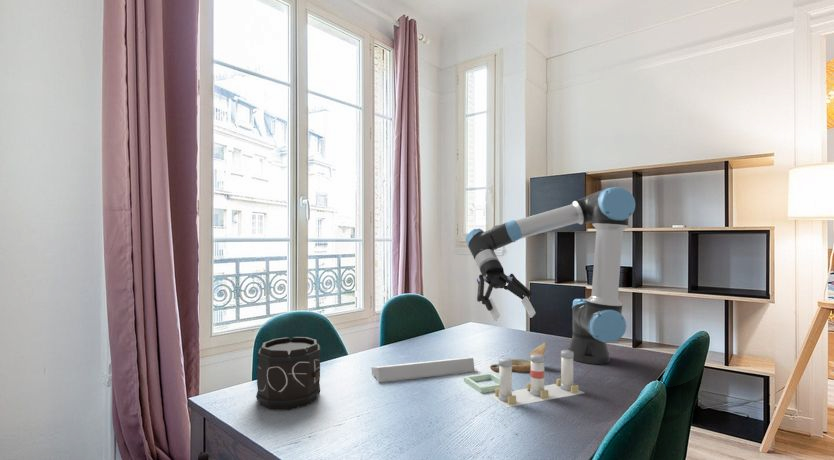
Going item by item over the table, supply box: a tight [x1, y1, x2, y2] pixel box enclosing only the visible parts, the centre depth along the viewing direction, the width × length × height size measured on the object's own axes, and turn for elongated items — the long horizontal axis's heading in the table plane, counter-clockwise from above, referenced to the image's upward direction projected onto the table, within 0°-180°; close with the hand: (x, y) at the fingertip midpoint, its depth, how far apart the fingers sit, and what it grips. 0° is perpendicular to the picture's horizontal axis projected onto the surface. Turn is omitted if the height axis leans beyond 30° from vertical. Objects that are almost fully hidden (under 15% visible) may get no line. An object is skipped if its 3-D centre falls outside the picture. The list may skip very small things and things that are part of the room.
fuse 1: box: [498, 357, 513, 402], centre depth 112 cm, size 4×4×11 cm
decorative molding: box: [370, 357, 476, 384], centre depth 139 cm, size 34×5×10 cm
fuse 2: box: [560, 349, 575, 391], centre depth 121 cm, size 4×4×11 cm
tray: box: [463, 372, 499, 394], centre depth 123 cm, size 10×10×3 cm
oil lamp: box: [489, 341, 547, 373], centre depth 139 cm, size 9×21×10 cm, turn 105°
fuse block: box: [489, 377, 585, 408], centre depth 116 cm, size 27×9×4 cm, turn 113°
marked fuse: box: [529, 354, 546, 397], centre depth 116 cm, size 4×4×11 cm
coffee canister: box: [255, 336, 322, 411], centre depth 115 cm, size 18×18×16 cm
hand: (515, 316), depth 126 cm, fingers open, 13 cm apart
